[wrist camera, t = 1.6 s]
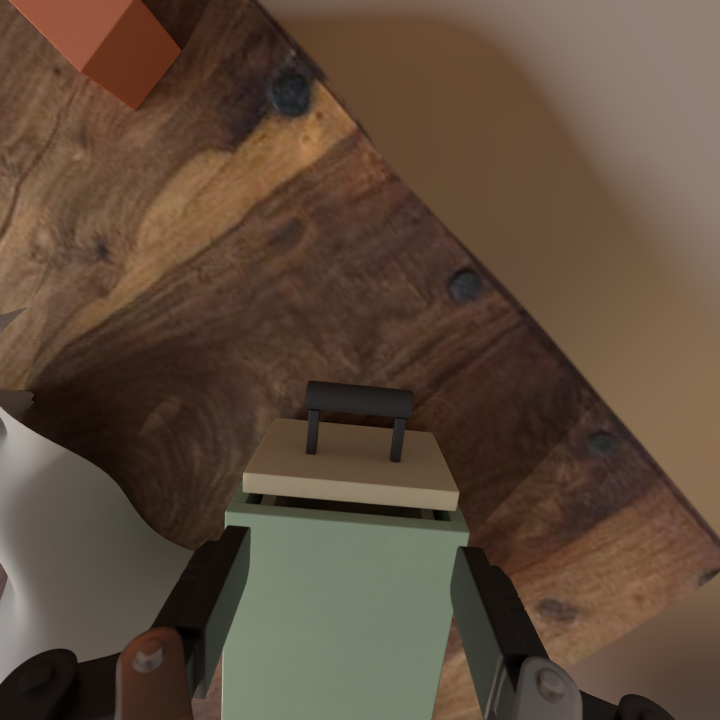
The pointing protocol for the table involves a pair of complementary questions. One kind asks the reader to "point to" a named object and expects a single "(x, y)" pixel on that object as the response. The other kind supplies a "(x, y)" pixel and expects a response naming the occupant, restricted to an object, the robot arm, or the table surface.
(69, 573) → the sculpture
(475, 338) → the table surface
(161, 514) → the table surface
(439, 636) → the cabinet
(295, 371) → the table surface
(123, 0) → the block
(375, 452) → the drawer
